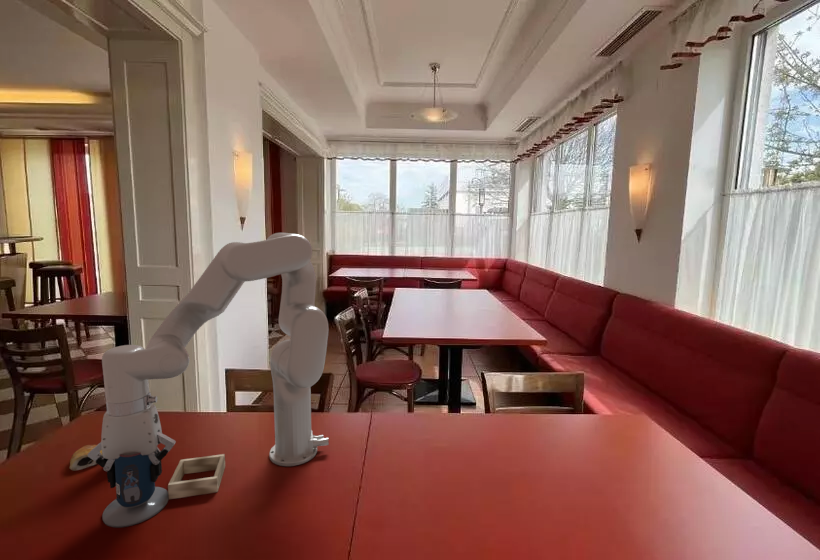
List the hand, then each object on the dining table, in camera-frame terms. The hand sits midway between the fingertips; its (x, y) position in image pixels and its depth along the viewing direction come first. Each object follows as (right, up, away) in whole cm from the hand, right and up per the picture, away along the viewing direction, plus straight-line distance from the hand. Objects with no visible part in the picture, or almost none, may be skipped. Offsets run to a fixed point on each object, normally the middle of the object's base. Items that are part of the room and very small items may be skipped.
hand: (135, 480), depth 86 cm
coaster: (0, -6, +1) cm, 6 cm away
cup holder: (+9, -5, +9) cm, 14 cm away
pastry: (-25, -4, +17) cm, 30 cm away
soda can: (0, -4, +1) cm, 5 cm away
